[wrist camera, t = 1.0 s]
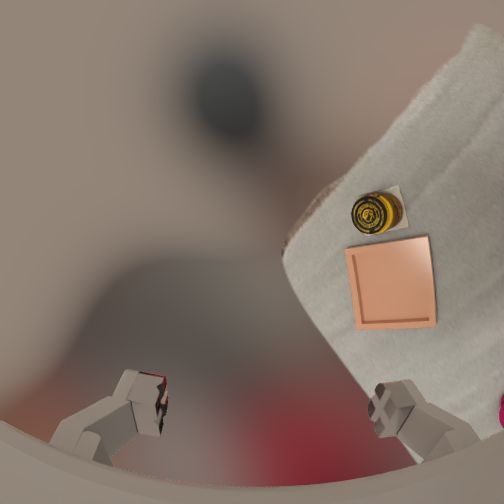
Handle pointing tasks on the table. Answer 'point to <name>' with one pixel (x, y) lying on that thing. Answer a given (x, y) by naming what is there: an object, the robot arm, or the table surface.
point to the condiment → (379, 211)
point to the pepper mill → (502, 412)
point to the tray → (393, 284)
